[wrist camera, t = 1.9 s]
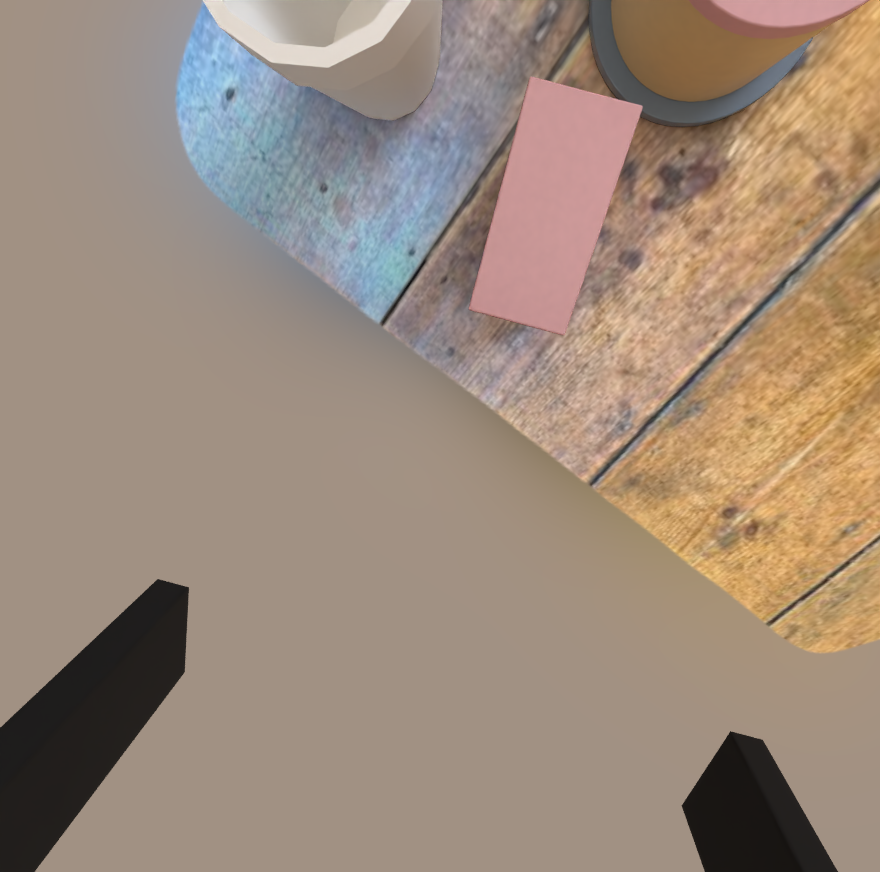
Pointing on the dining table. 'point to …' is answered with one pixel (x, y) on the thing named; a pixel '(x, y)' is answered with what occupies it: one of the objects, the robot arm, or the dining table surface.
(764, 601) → the dining table surface
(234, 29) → the foam cup
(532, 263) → the cake slice
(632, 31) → the cake
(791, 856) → the robot arm
